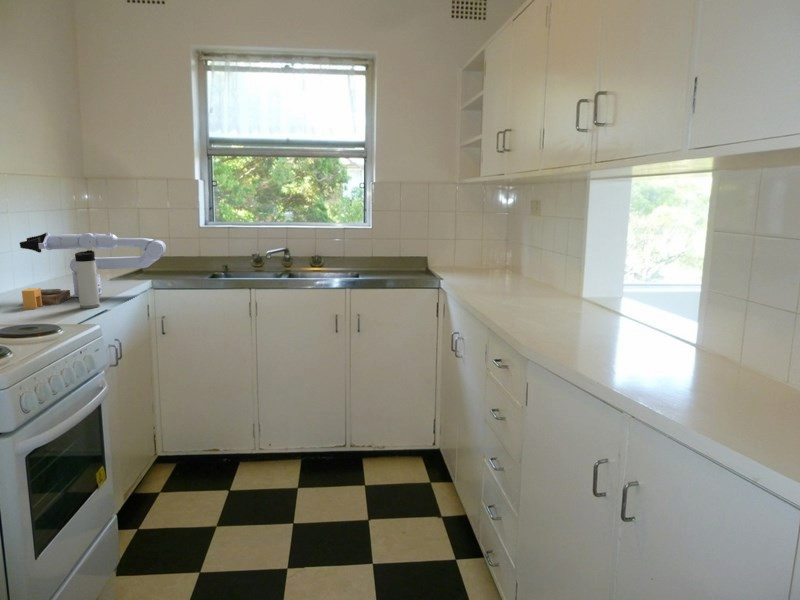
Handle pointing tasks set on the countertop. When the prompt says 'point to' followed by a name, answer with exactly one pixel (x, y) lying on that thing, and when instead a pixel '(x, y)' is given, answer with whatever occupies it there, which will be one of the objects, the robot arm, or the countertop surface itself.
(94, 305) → the travel mug
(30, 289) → the orange notched block
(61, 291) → the square wooden frame
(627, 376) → the countertop surface
